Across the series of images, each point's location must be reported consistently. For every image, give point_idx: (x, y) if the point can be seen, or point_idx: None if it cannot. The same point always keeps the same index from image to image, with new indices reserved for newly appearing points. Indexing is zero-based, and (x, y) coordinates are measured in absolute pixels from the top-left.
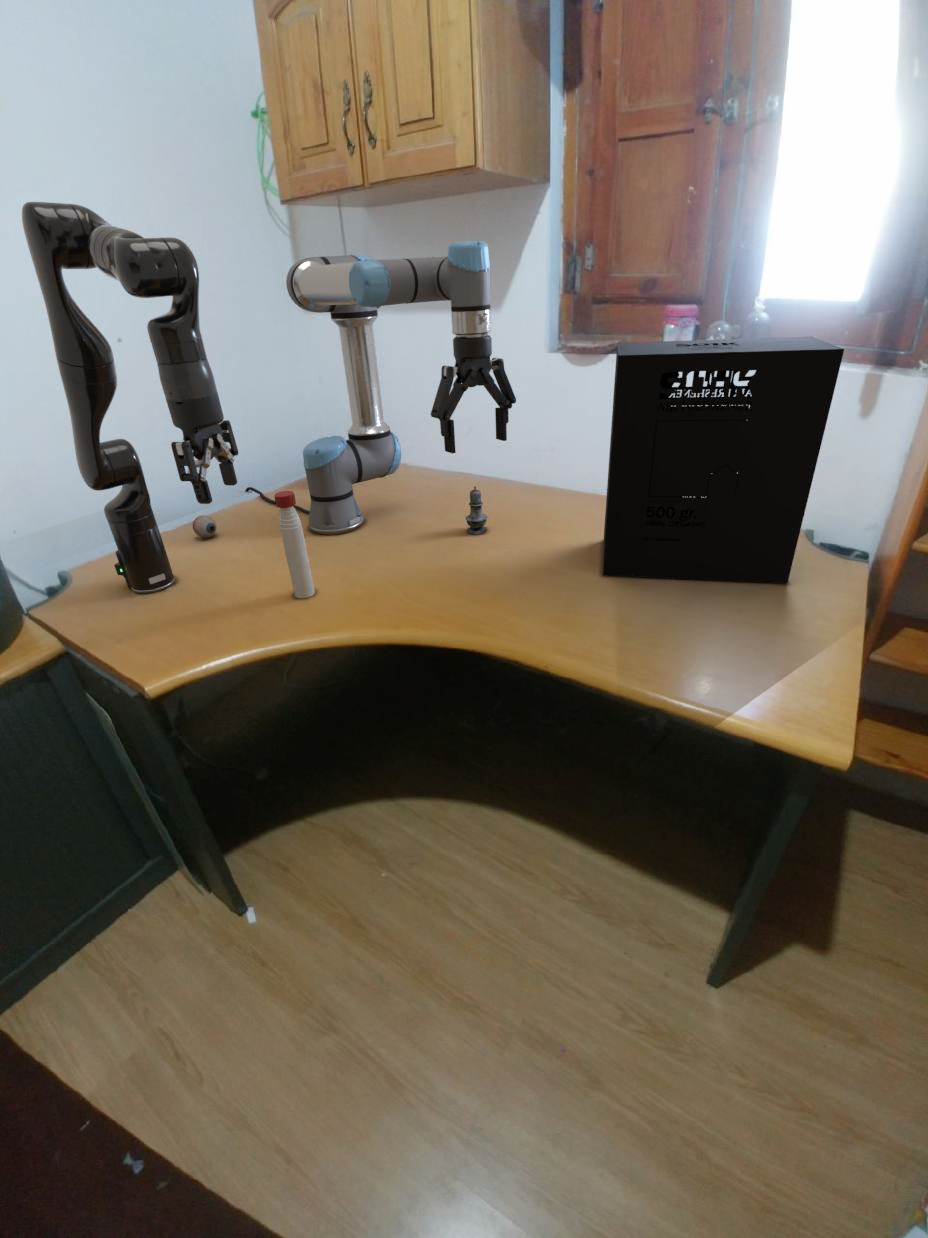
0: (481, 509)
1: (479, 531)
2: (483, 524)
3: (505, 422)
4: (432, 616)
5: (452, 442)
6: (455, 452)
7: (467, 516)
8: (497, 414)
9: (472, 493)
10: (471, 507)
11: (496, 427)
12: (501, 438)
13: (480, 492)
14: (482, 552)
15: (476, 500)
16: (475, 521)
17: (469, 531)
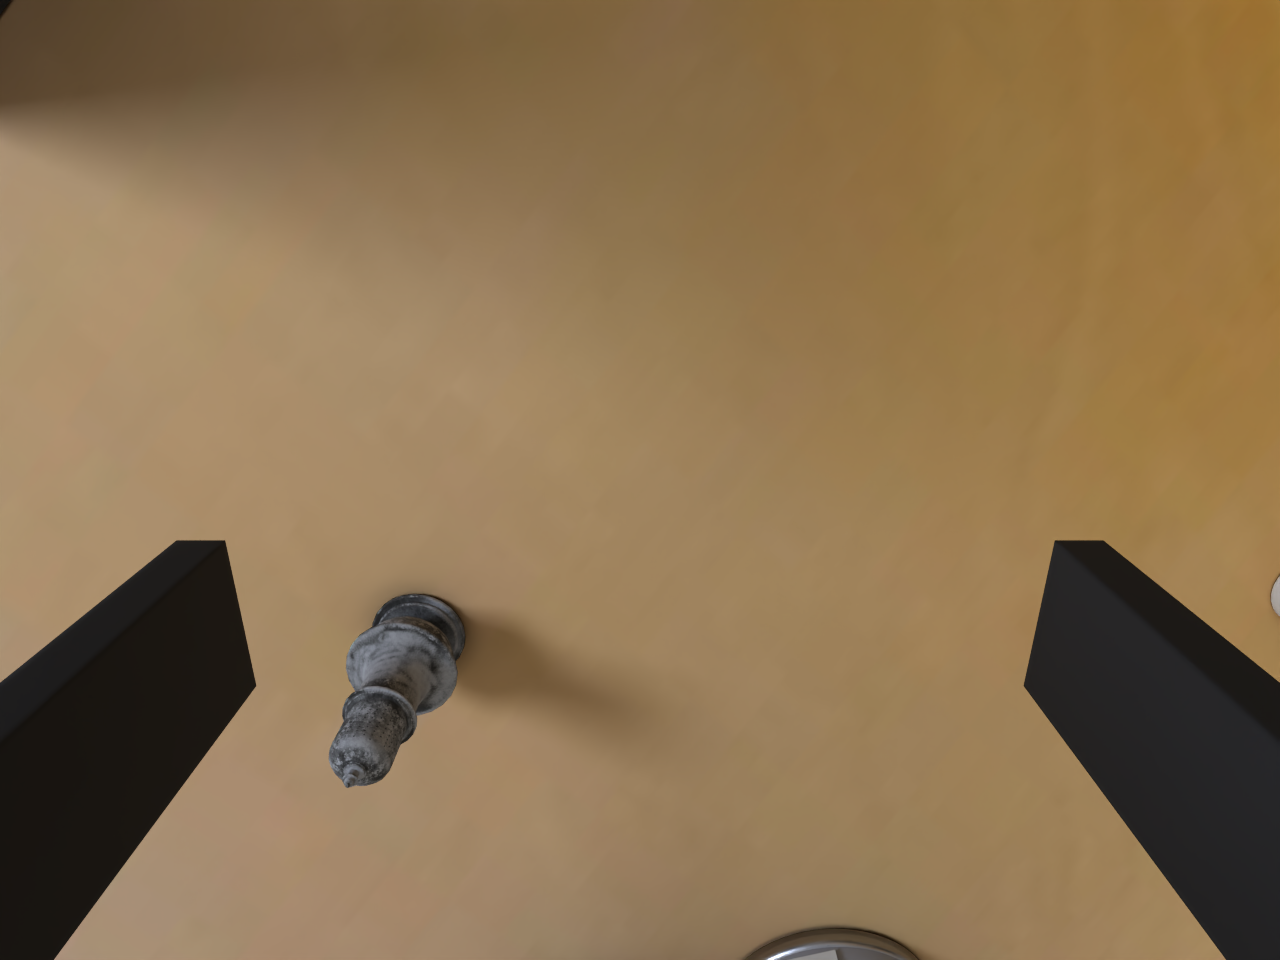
0: (368, 678)
1: (426, 606)
2: (395, 618)
3: (13, 689)
4: (1143, 35)
5: (1185, 613)
6: (1056, 542)
7: (431, 703)
8: (13, 941)
9: (384, 754)
10: (414, 707)
11: (171, 781)
12: (224, 597)
13: (336, 741)
14: (541, 432)
15: (382, 713)
16: (434, 636)
17: (458, 639)
